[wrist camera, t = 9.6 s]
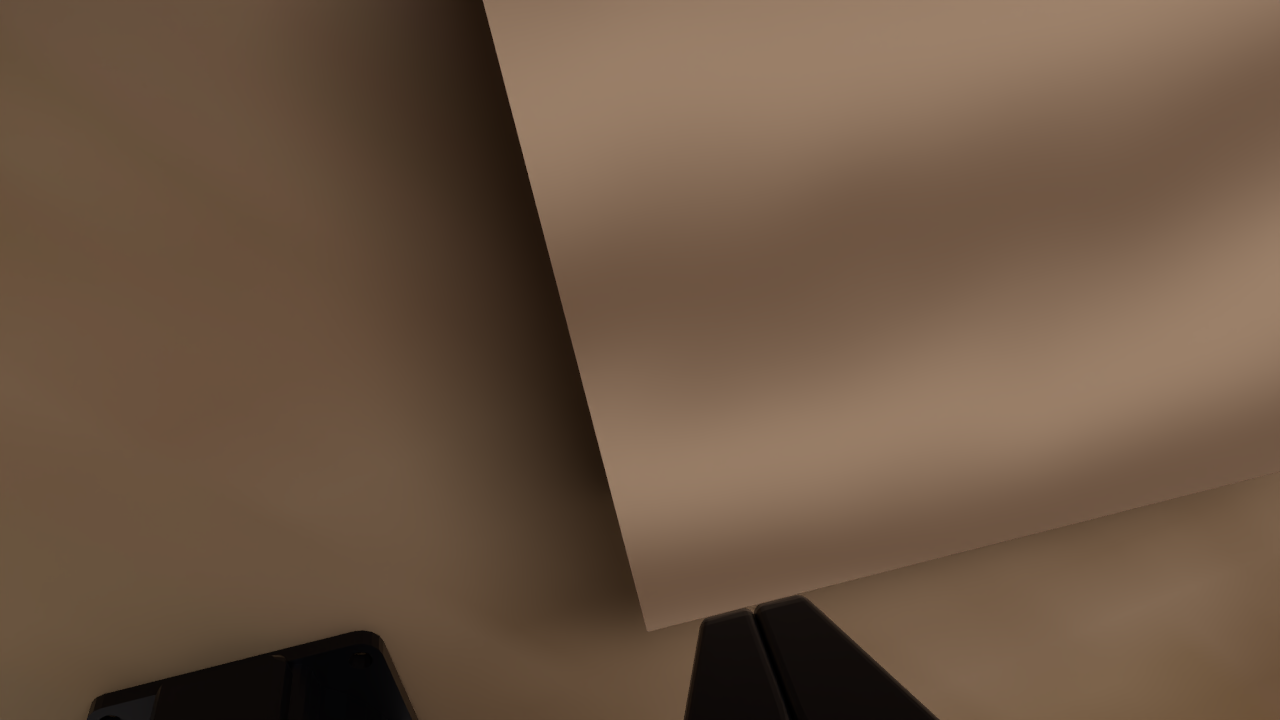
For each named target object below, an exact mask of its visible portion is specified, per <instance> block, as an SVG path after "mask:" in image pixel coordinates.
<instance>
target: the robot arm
mask: <svg viewBox="0 0 1280 720" xmlns="http://www.w3.org/2000/svg"><path fill="white" fill-rule="evenodd" d="M357 652H365V653H368V654H366V655H356V654H355V653H357ZM108 715H114V716H117V717H111V716H108ZM87 720H418V718H417V716H416V714H415V711H414V709H413V707H412V705H411V702H410V700H409V698H408V696H407V693H406V691H405V689H404V687H403V684H402V682H401V680H400V678H399V675H398V673H397V671H396V668H395V666H394V664H393V662H392V659H391V657H390V655H389V653H388V650H387V648H386V646H385V644H384V641H383V640H382V639H381V638H380V636H378V635H377V634H375V633H373V632H369V631H354V632H350V633H346V634H342V635H338V636H334V637H330V638H326V639H322V640H318V641H314V642H310V643H306V644H302V645H298V646H294V647H290V648H286V649H282V650H278V651H274V652H270V653H266V654H262V655H258V656H254V657H250V658H246V659H243V660H239V661H235V662H231V663H227V664H223V665H219V666H215V667H211V668H207V669H203V670H199V671H195V672H191V673H187V674H183V675H179V676H175V677H171V678H167V679H163V680H159V681H155V682H151V683H147V684H143V685H139V686H135V687H131V688H127V689H123V690H119V691H115V692H111V693H107V694H104V695H102V696H99V697H97V698H96V699H95V700H94V701H93V702H92V704H91V707H90V711H89V714H88V718H87ZM684 720H939V719H938V718H937V717H936V716H935V715H934V714H933V713H932V712H931V711H929V710H928V709H927V708H926V707H925V706H924V705H923V704H922V703H921V702H920V701H919V700H917V699H916V698H915V697H914V696H913V695H912V694H911V693H910V692H909V691H908V690H907V689H905V688H904V687H903V686H902V685H901V684H900V683H899V682H898V681H897V680H896V679H895V678H894V677H892V676H891V675H890V674H889V673H888V672H887V671H886V670H885V669H884V668H883V667H882V666H880V665H879V664H878V663H877V662H876V661H875V660H874V659H873V658H872V657H871V656H870V655H868V654H867V653H866V652H865V651H864V650H863V649H862V648H861V647H860V646H859V645H858V644H856V643H855V642H854V641H853V640H852V639H851V638H850V637H849V636H848V635H847V634H846V633H844V632H843V631H842V630H841V629H840V628H839V627H838V626H837V625H836V624H835V623H834V622H833V621H831V620H830V619H829V618H828V617H827V616H826V615H825V614H824V613H823V612H822V611H821V610H819V609H818V608H817V607H816V606H815V605H814V604H813V603H812V602H811V601H809V600H808V599H807V598H805V597H804V596H800V595H794V596H790V597H786V598H782V599H778V600H774V601H770V602H766V603H762V604H759V605H758V606H757V607H756V608H755V610H754V614H753V613H752V612H751V611H750V610H749V609H746V608H743V609H738V610H734V611H730V612H726V613H722V614H718V615H714V616H710V617H708V618H705V619H704V620H703V622H702V624H701V626H700V630H699V635H698V641H697V647H696V652H695V658H694V664H693V670H692V675H691V681H690V687H689V693H688V698H687V704H686V710H685V716H684Z"/></svg>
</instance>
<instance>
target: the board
mask: <svg viewBox="0 0 1280 720" xmlns="http://www.w3.org/2000/svg"><path fill="white" fill-rule="evenodd" d="M483 3H484V7H485V11H486V14H487V18H488V22H489V26H490V30H491V34H492V37H493V41H494V45H495V49H496V53H497V57H498V61H499V64H500V68H501V72H502V76H503V80H504V84H505V87H506V91H507V95H508V99H509V103H510V107H511V110H512V114H513V118H514V122H515V126H516V130H517V134H518V137H519V141H520V145H521V149H522V153H523V157H524V160H525V164H526V168H527V172H528V176H529V180H530V183H531V187H532V191H533V195H534V199H535V203H536V207H537V210H538V214H539V218H540V222H541V226H542V230H543V233H544V237H545V241H546V245H547V249H548V253H549V256H550V260H551V264H552V268H553V272H554V276H555V280H556V283H557V287H558V291H559V295H560V299H561V303H562V306H563V310H564V314H565V318H566V322H567V326H568V329H569V333H570V337H571V341H572V345H573V349H574V353H575V356H576V360H577V364H578V368H579V372H580V376H581V379H582V383H583V387H584V391H585V395H586V399H587V402H588V406H589V410H590V414H591V418H592V422H593V425H594V429H595V433H596V437H597V441H598V445H599V449H600V452H601V456H602V460H603V464H604V468H605V472H606V475H607V479H608V483H609V487H610V491H611V495H612V498H613V502H614V506H615V510H616V514H617V518H618V522H619V525H620V529H621V533H622V537H623V541H624V545H625V548H626V552H627V556H628V560H629V564H630V568H631V571H632V575H633V579H634V583H635V587H636V591H637V595H638V598H639V602H640V606H641V610H642V614H643V618H644V621H645V625H646V629H647V632H649V631H653V630H657V629H661V628H665V627H669V626H673V625H677V624H681V623H685V622H689V621H693V620H697V619H701V618H705V617H709V616H712V615H716V614H720V613H724V612H728V611H732V610H736V609H740V608H744V607H748V606H752V605H756V604H760V603H764V602H768V601H772V600H776V599H780V598H784V597H787V596H791V595H795V594H799V593H803V592H807V591H811V590H815V589H819V588H823V587H827V586H831V585H835V584H839V583H843V582H847V581H851V580H855V579H859V578H862V577H866V576H870V575H874V574H878V573H882V572H886V571H890V570H894V569H898V568H902V567H906V566H910V565H914V564H918V563H922V562H926V561H930V560H934V559H938V558H941V557H945V556H949V555H953V554H957V553H961V552H965V551H969V550H973V549H977V548H981V547H985V546H989V545H993V544H997V543H1001V542H1005V541H1009V540H1013V539H1016V538H1020V537H1024V536H1028V535H1032V534H1036V533H1040V532H1044V531H1048V530H1052V529H1056V528H1060V527H1064V526H1068V525H1072V524H1076V523H1080V522H1084V521H1088V520H1092V519H1095V518H1099V517H1103V516H1107V515H1111V514H1115V513H1119V512H1123V511H1127V510H1131V509H1135V508H1139V507H1143V506H1147V505H1151V504H1155V503H1159V502H1163V501H1167V500H1170V499H1174V498H1178V497H1182V496H1186V495H1190V494H1194V493H1198V492H1202V491H1206V490H1210V489H1214V488H1218V487H1222V486H1226V485H1230V484H1234V483H1238V482H1242V481H1246V480H1249V479H1253V478H1257V477H1261V476H1265V475H1269V474H1273V473H1277V472H1280V0H483Z"/></svg>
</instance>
